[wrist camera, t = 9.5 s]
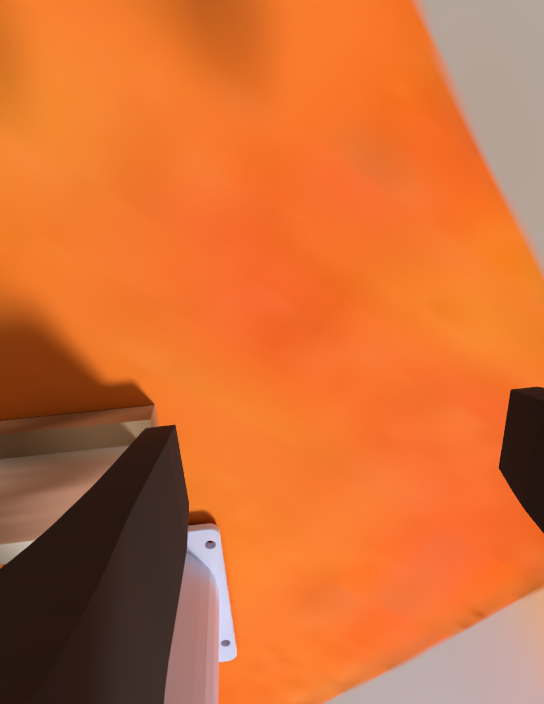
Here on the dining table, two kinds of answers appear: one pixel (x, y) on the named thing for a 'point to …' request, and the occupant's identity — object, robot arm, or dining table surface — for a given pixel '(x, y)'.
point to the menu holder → (57, 466)
